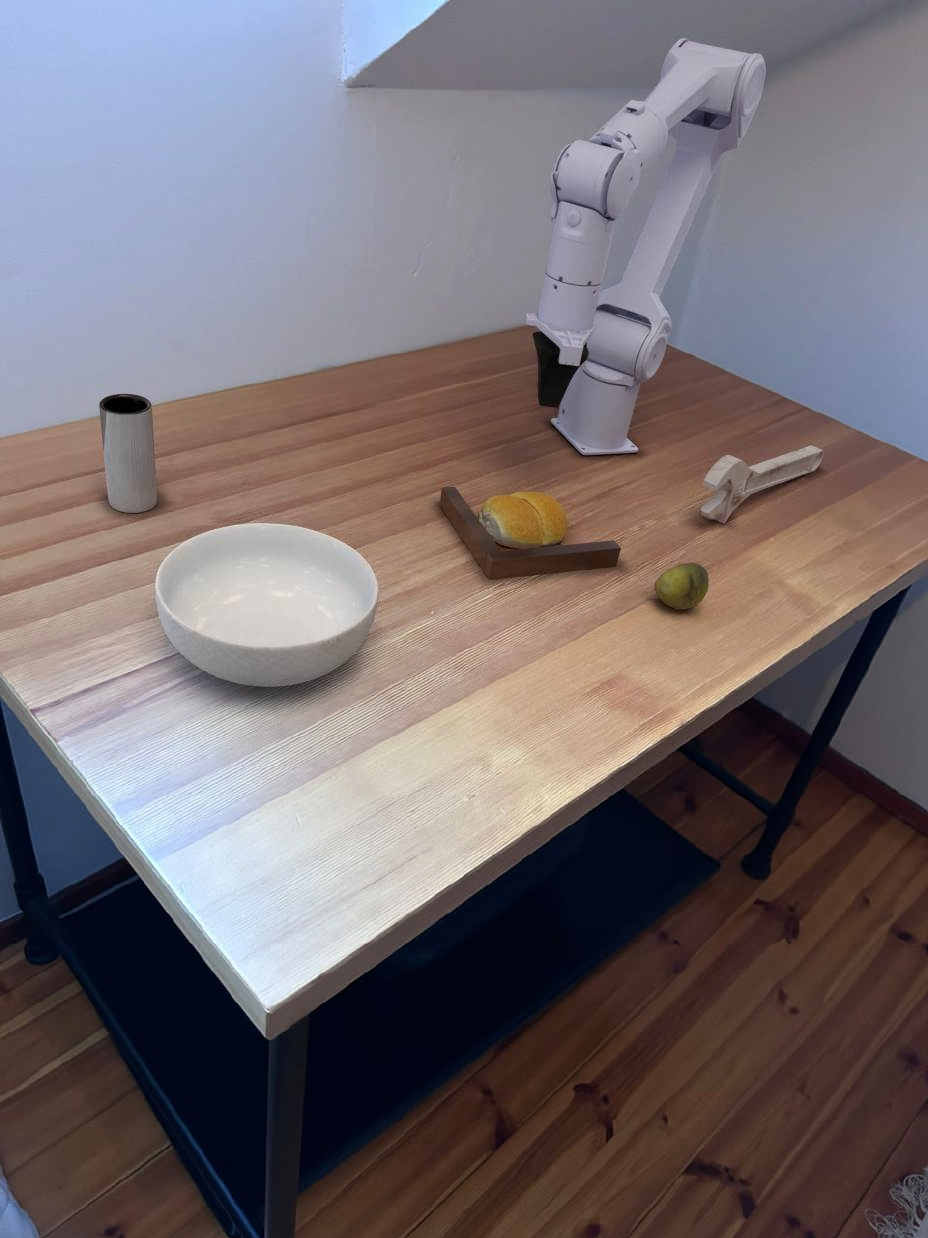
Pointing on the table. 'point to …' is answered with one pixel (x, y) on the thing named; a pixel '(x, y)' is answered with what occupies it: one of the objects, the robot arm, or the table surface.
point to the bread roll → (524, 520)
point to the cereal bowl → (266, 602)
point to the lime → (682, 585)
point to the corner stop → (521, 559)
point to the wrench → (753, 478)
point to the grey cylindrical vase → (129, 452)
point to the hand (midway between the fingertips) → (548, 404)
